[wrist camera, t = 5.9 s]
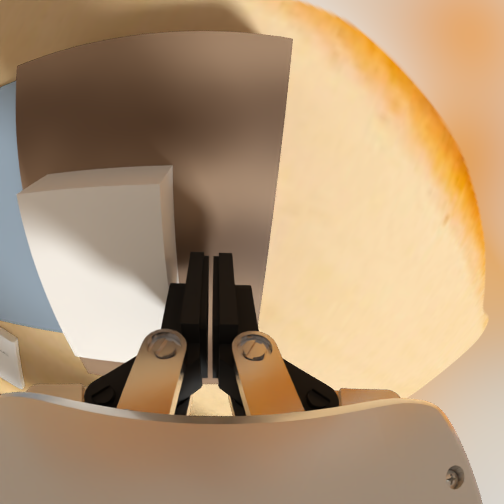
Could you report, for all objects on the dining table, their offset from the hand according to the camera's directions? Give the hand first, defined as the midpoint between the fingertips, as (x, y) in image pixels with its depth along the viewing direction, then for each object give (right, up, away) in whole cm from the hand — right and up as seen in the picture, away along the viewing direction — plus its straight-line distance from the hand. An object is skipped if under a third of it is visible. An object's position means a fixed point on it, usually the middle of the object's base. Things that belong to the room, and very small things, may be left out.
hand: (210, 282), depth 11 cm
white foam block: (-5, +1, +1) cm, 5 cm away
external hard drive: (-29, -10, +10) cm, 33 cm away
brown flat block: (-4, +3, +4) cm, 7 cm away
